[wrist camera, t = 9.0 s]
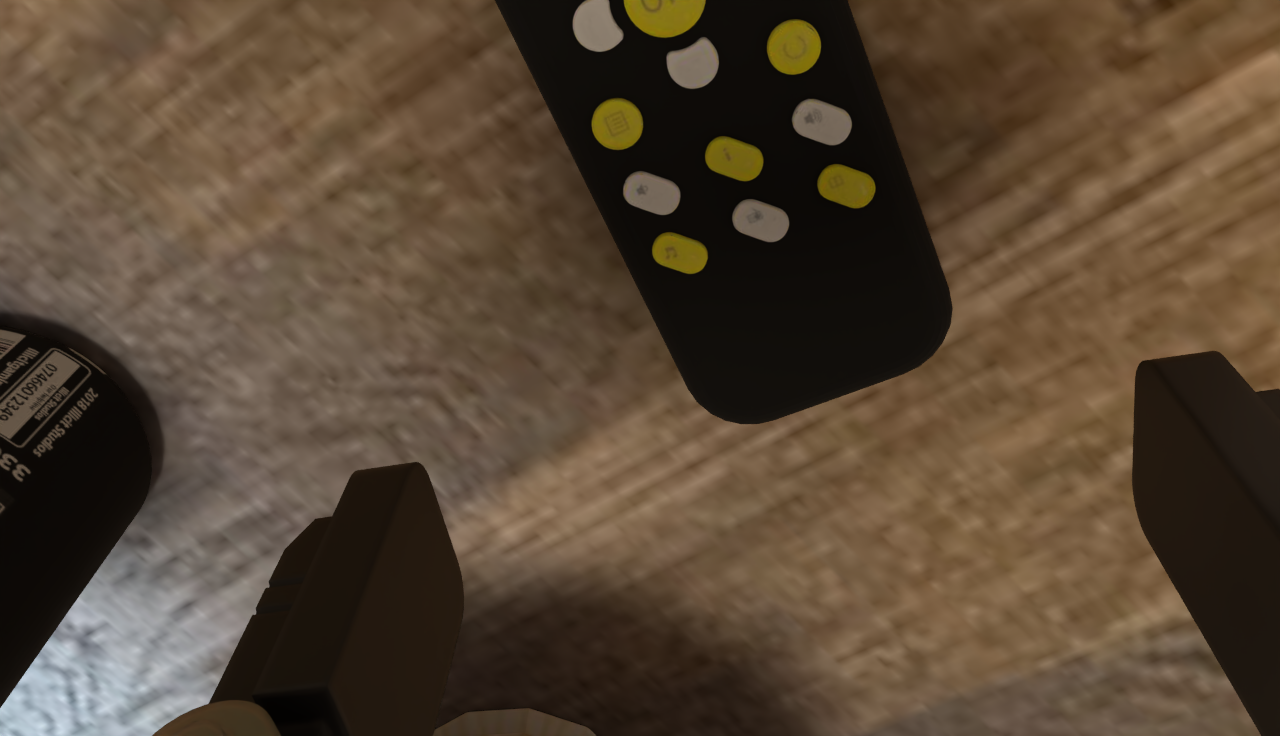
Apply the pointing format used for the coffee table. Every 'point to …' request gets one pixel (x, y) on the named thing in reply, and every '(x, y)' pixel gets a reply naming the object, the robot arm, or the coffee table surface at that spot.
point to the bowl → (511, 724)
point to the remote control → (746, 190)
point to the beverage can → (58, 487)
